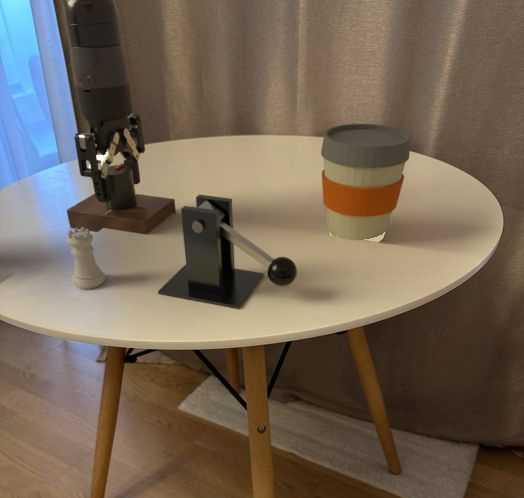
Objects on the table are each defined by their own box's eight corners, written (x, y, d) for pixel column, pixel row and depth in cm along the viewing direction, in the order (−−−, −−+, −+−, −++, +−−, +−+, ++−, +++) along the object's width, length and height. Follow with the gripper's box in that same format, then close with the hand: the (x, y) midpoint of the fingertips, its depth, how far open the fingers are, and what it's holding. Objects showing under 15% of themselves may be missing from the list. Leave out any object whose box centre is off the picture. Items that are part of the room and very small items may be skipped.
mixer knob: (127, 210, 86) (122, 174, 83) (100, 207, 87) (93, 171, 84) (141, 200, 90) (136, 164, 86) (115, 197, 91) (109, 161, 87)
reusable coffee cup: (409, 228, 87) (425, 130, 79) (377, 258, 79) (391, 152, 70) (338, 212, 93) (346, 119, 84) (301, 238, 85) (306, 138, 76)
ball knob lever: (291, 283, 69) (306, 263, 67) (282, 297, 66) (297, 277, 64) (198, 216, 68) (210, 194, 66) (185, 227, 65) (197, 204, 63)
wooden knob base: (70, 227, 88) (65, 208, 86) (104, 205, 96) (101, 188, 94) (146, 239, 84) (144, 220, 83) (176, 216, 92) (174, 197, 90)
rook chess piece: (65, 292, 71) (51, 235, 67) (87, 277, 75) (75, 222, 70) (93, 299, 70) (80, 241, 65) (114, 284, 73) (104, 227, 68)
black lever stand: (263, 281, 74) (263, 196, 67) (238, 315, 67) (235, 224, 60) (189, 269, 77) (182, 185, 70) (158, 300, 70) (146, 211, 63)
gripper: (107, 70, 84) (123, 175, 94) (47, 87, 73) (72, 204, 83) (150, 73, 82) (162, 180, 92) (95, 91, 71) (115, 211, 81)
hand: (119, 192), depth 87 cm, fingers open, 8 cm apart
